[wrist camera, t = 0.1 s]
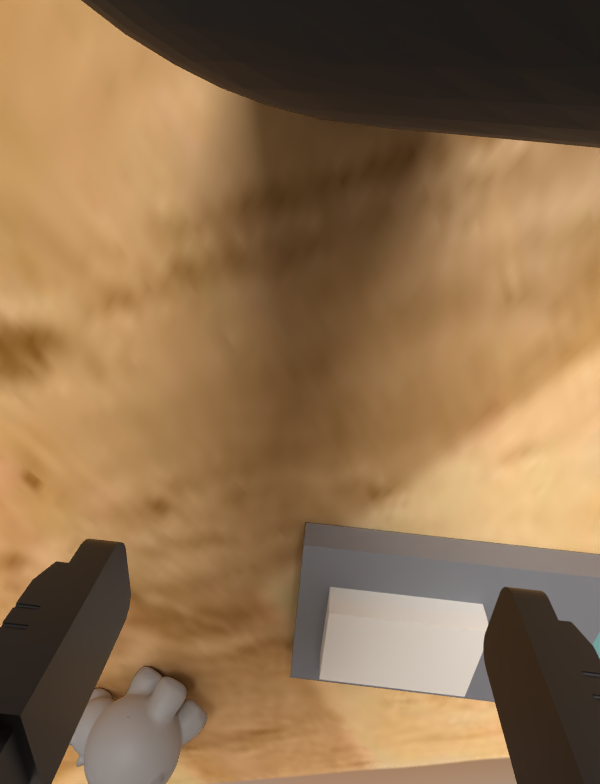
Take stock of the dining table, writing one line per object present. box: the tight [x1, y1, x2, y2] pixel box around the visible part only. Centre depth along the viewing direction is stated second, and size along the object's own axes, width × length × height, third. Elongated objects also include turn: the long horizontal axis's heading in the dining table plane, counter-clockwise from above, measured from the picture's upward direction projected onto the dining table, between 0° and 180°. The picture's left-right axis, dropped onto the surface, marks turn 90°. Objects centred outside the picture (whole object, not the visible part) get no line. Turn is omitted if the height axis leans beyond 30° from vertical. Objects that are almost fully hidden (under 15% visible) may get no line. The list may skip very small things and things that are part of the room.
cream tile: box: [319, 587, 488, 697], centre depth 33 cm, size 7×10×2 cm
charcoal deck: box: [290, 522, 600, 702], centre depth 35 cm, size 14×20×2 cm
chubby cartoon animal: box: [69, 667, 207, 784], centre depth 40 cm, size 7×12×8 cm, turn 108°
